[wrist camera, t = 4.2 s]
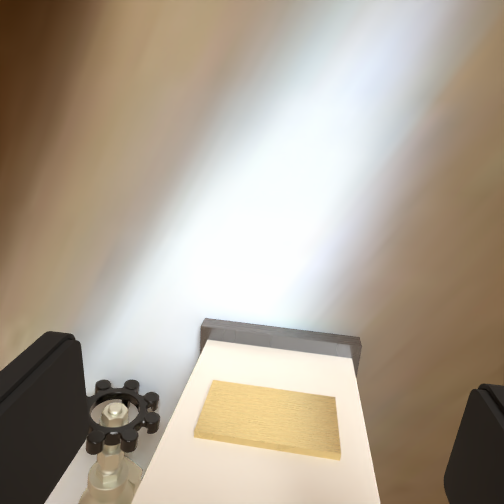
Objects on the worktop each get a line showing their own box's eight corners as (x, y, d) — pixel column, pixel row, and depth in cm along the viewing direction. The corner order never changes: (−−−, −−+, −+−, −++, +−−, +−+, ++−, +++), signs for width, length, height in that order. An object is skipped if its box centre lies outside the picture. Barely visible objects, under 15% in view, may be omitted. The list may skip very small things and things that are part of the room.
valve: (157, 498, 35) (174, 389, 31) (124, 580, 28) (141, 456, 24) (87, 479, 35) (95, 369, 31) (39, 555, 29) (42, 429, 25)
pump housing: (205, 318, 28) (66, 578, 12) (359, 337, 27) (439, 654, 11) (202, 408, 31) (84, 724, 14) (343, 429, 29) (388, 800, 13)
